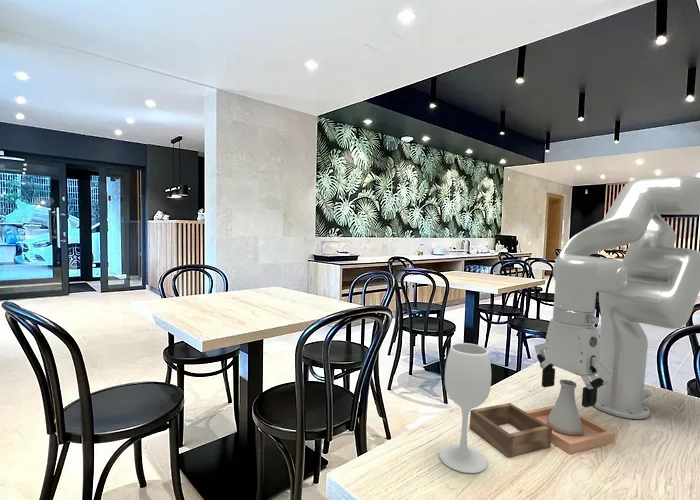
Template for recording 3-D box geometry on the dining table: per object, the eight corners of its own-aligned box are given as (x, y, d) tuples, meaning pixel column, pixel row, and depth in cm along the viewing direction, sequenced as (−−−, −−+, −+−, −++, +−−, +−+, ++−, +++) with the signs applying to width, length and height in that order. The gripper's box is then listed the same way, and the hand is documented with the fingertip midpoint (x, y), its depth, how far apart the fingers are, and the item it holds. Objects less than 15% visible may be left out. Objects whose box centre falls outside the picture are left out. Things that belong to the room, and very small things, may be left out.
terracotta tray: (559, 412, 91) (559, 404, 91) (614, 442, 79) (615, 432, 79) (517, 421, 86) (518, 412, 86) (569, 454, 74) (570, 444, 74)
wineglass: (429, 450, 74) (435, 343, 72) (466, 442, 77) (472, 339, 76) (458, 478, 66) (465, 358, 64) (497, 468, 69) (505, 354, 68)
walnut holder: (508, 420, 87) (510, 402, 86) (550, 447, 76) (552, 427, 76) (469, 428, 82) (470, 410, 82) (507, 457, 72) (509, 437, 72)
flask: (590, 439, 78) (594, 391, 78) (551, 434, 80) (555, 387, 79) (576, 421, 86) (579, 377, 85) (541, 417, 87) (544, 374, 86)
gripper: (627, 326, 74) (619, 411, 76) (550, 307, 90) (545, 377, 92) (601, 329, 71) (593, 418, 73) (526, 308, 87) (521, 381, 89)
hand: (567, 395), depth 82 cm, fingers open, 9 cm apart
